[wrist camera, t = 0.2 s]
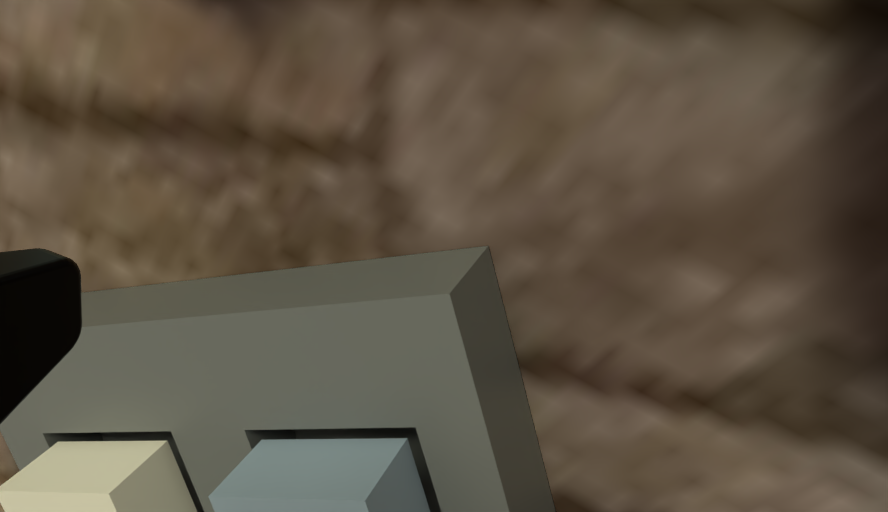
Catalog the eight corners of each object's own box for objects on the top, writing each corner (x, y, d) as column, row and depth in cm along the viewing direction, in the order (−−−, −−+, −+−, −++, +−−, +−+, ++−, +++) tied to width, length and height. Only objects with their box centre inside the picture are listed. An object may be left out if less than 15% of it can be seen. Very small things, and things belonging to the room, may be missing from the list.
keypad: (583, 622, 26) (561, 702, 24) (156, 584, 34) (104, 642, 31) (488, 245, 22) (449, 293, 20) (26, 299, 30) (-45, 338, 27)
